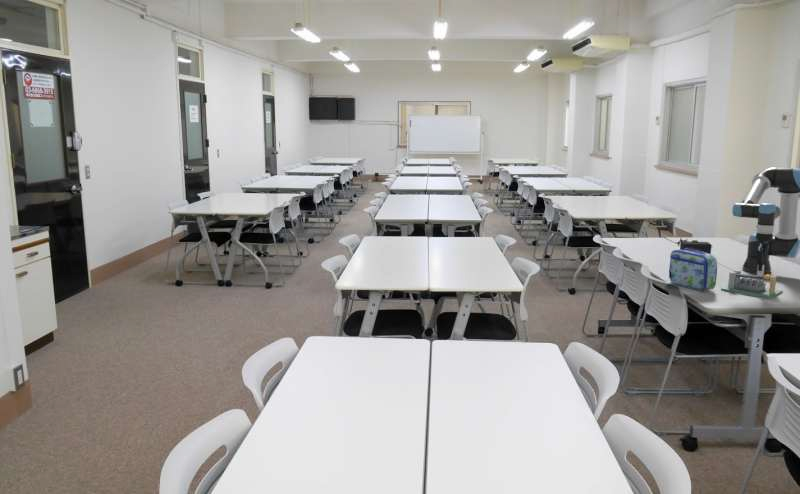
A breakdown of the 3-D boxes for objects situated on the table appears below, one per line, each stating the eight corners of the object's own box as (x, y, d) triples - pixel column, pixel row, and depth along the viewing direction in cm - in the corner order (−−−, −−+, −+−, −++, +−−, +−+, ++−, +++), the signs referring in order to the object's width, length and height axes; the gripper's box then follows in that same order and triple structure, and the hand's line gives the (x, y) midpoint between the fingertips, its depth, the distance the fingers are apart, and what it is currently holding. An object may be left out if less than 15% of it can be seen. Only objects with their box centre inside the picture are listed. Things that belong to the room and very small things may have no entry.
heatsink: (742, 285, 330) (744, 276, 329) (765, 289, 322) (766, 279, 321) (736, 289, 324) (737, 279, 323) (758, 293, 316) (759, 283, 315)
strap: (738, 275, 329) (738, 271, 328) (771, 278, 317) (771, 274, 316) (735, 276, 326) (735, 272, 325) (768, 280, 314) (768, 276, 314)
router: (711, 275, 358) (714, 242, 354) (678, 274, 361) (681, 241, 358) (707, 272, 366) (710, 240, 362) (675, 271, 369) (678, 239, 365)
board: (734, 284, 338) (736, 266, 336) (782, 292, 320) (784, 274, 318) (721, 290, 326) (722, 272, 324) (770, 299, 308) (772, 280, 306)
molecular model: (671, 255, 415) (673, 233, 410) (690, 256, 410) (692, 234, 406) (672, 267, 393) (674, 244, 388) (693, 268, 388) (695, 245, 384)
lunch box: (665, 282, 343) (667, 246, 339) (679, 280, 347) (682, 245, 343) (701, 293, 319) (705, 255, 315) (717, 291, 323) (720, 253, 319)
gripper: (761, 230, 321) (756, 273, 326) (752, 233, 313) (747, 277, 317) (776, 232, 316) (771, 275, 320) (768, 235, 307) (763, 279, 312)
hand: (759, 276), depth 319 cm, fingers closed
